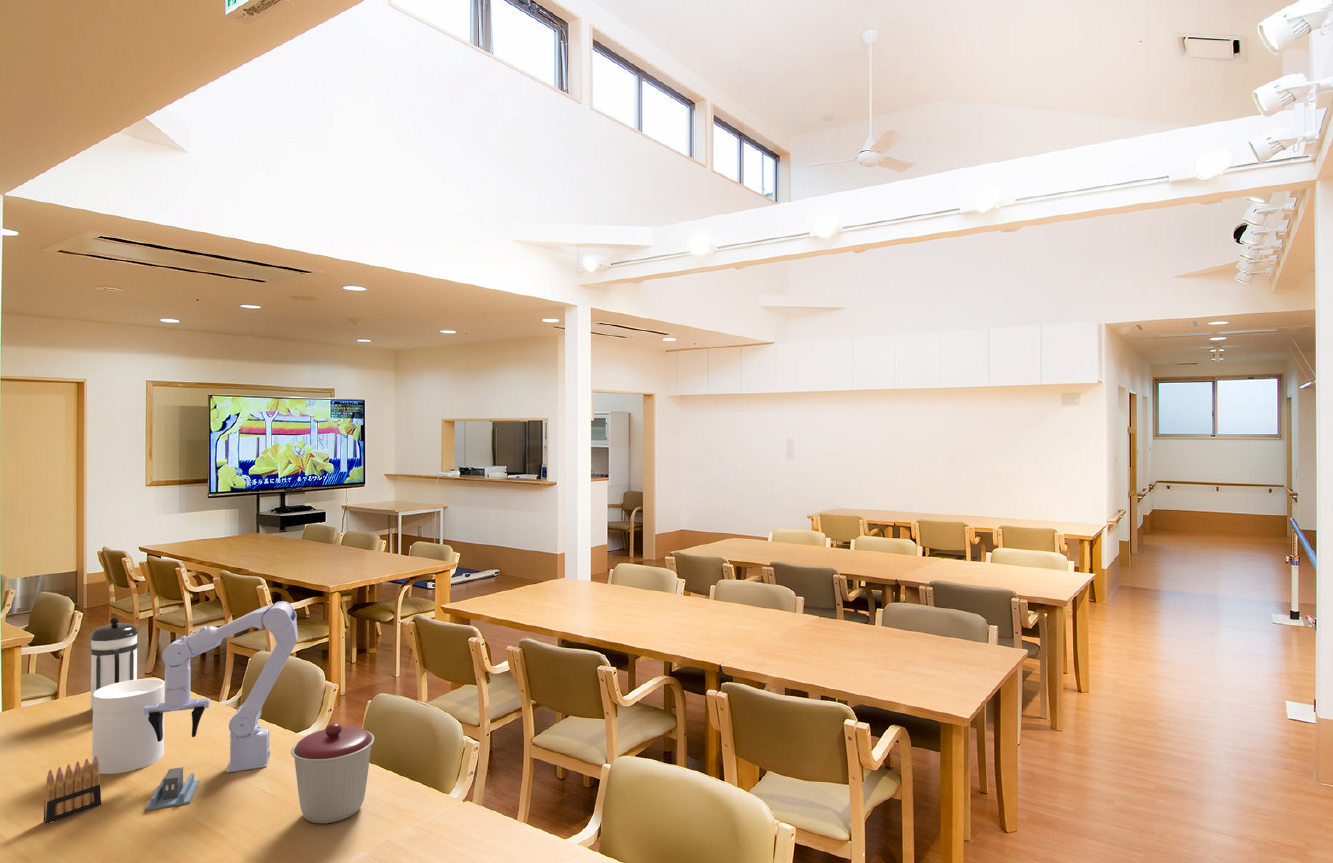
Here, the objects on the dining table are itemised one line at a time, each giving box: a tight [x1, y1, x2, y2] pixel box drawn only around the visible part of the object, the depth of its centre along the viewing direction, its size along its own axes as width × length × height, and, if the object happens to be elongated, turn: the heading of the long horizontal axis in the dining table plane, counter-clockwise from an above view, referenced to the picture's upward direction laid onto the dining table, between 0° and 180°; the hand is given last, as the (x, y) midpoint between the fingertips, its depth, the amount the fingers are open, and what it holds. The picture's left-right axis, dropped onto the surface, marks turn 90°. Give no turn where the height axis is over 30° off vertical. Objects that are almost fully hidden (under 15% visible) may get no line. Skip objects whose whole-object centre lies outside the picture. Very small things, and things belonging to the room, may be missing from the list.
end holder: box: [144, 772, 200, 811], centre depth 183 cm, size 9×12×3 cm
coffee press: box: [89, 617, 140, 710], centre depth 241 cm, size 17×16×30 cm
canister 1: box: [91, 678, 165, 775], centre depth 203 cm, size 16×16×20 cm
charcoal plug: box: [162, 766, 184, 800], centre depth 183 cm, size 3×7×5 cm, turn 23°
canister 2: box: [290, 722, 375, 824], centre depth 175 cm, size 18×18×21 cm
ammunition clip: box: [43, 756, 102, 825], centre depth 175 cm, size 11×2×12 cm, turn 146°
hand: (177, 738), depth 195 cm, fingers open, 7 cm apart
